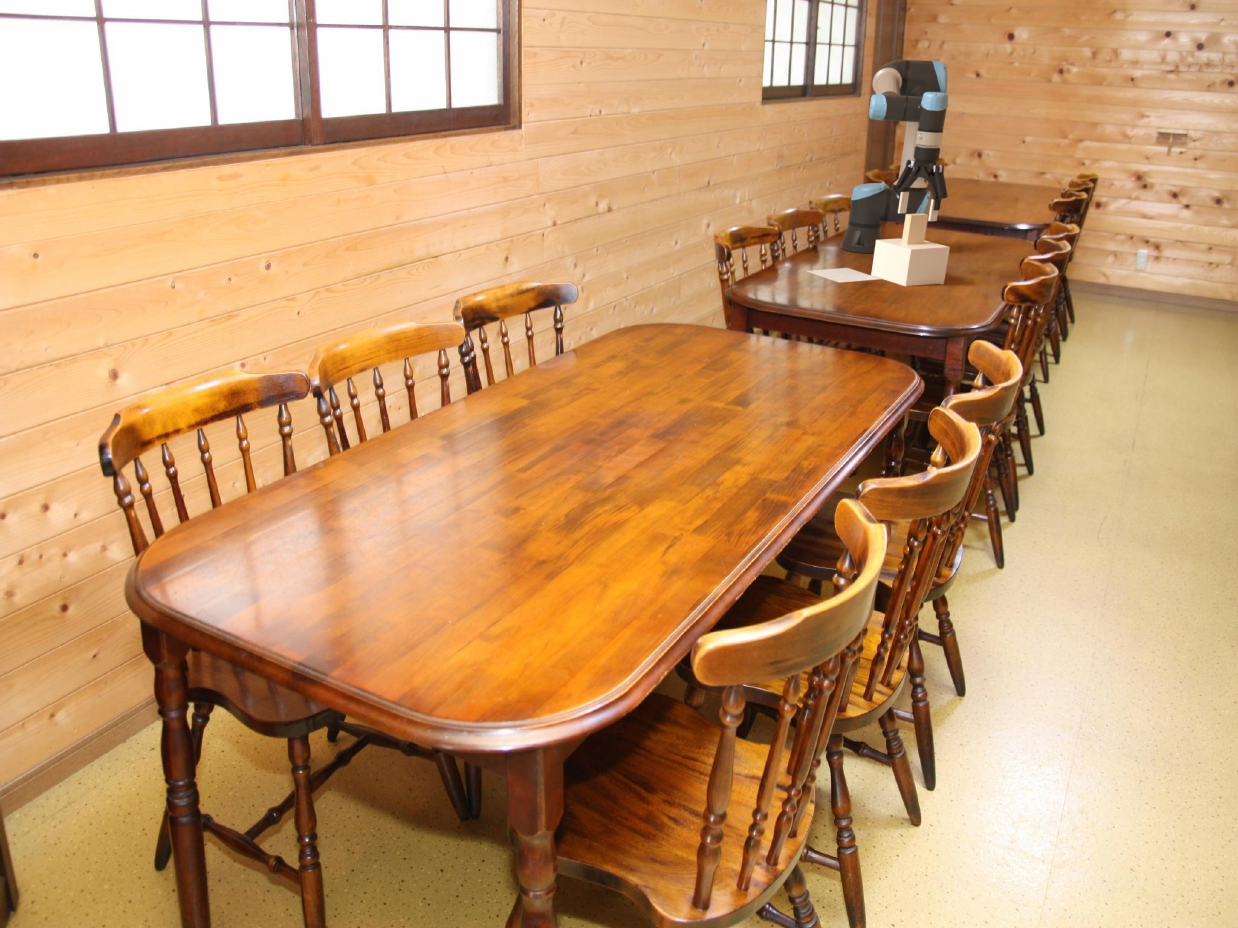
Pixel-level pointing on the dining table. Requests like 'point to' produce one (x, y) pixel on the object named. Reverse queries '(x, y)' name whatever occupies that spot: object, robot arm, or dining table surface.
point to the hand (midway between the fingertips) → (916, 217)
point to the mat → (843, 275)
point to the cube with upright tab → (911, 256)
